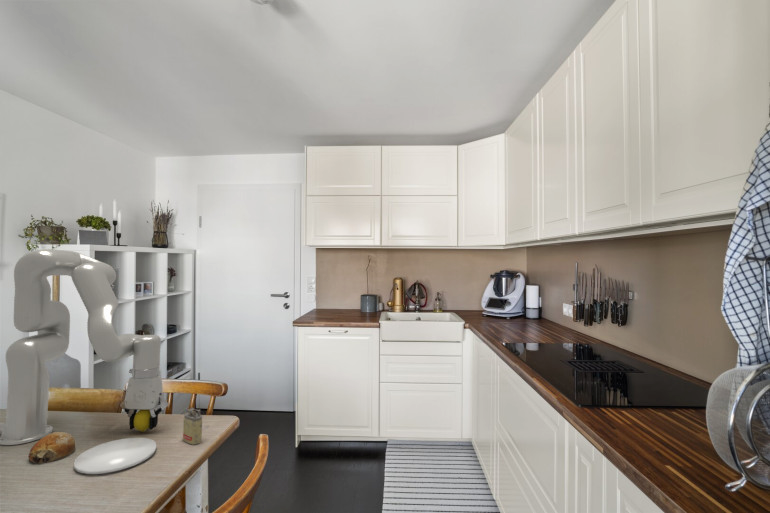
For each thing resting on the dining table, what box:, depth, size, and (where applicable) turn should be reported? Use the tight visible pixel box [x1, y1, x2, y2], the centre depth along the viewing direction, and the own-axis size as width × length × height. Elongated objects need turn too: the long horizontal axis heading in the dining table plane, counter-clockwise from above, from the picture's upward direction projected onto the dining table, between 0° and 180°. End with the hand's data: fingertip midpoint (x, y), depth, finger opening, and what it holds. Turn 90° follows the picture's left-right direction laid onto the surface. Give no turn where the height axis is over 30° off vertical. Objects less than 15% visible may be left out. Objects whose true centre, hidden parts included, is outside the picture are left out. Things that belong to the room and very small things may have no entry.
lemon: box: [134, 410, 152, 433], centre depth 123 cm, size 6×6×8 cm
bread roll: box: [28, 431, 77, 464], centre depth 107 cm, size 10×10×8 cm
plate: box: [73, 437, 157, 475], centre depth 106 cm, size 19×19×2 cm
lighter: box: [182, 407, 203, 445], centre depth 117 cm, size 7×4×10 cm, turn 59°
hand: (143, 427), depth 122 cm, fingers closed on lemon, 5 cm apart
